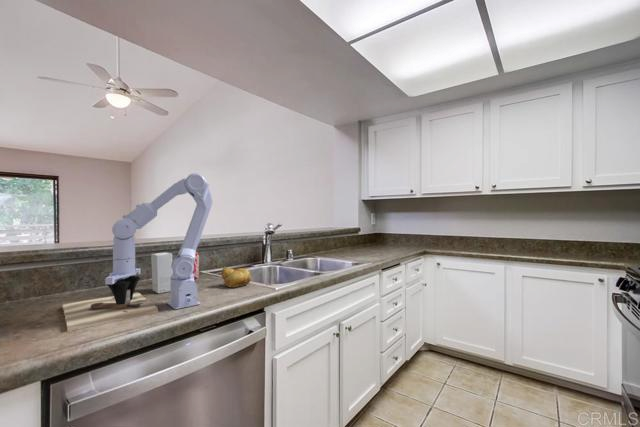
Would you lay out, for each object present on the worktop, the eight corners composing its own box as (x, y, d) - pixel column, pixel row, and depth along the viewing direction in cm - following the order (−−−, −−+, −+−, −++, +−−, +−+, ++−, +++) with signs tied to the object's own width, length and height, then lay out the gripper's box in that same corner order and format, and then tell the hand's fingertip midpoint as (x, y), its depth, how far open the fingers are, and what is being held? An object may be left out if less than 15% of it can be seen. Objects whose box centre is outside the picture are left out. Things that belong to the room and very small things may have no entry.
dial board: (158, 312, 89) (158, 308, 89) (67, 331, 74) (67, 326, 74) (137, 295, 108) (137, 291, 108) (62, 307, 93) (62, 303, 93)
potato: (245, 280, 131) (245, 263, 131) (258, 284, 125) (258, 265, 125) (219, 286, 122) (219, 267, 122) (231, 290, 115) (231, 270, 115)
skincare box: (173, 291, 113) (173, 253, 113) (156, 294, 109) (156, 254, 109) (167, 287, 119) (167, 251, 119) (150, 290, 115) (150, 252, 115)
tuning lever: (88, 309, 87) (88, 292, 87) (95, 305, 90) (95, 289, 90) (136, 308, 88) (136, 291, 88) (142, 304, 91) (142, 289, 91)
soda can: (178, 282, 129) (178, 252, 129) (191, 278, 135) (191, 251, 135) (188, 283, 126) (188, 253, 126) (202, 280, 132) (202, 252, 132)
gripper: (125, 255, 96) (125, 295, 96) (94, 262, 82) (94, 310, 82) (146, 255, 97) (146, 295, 97) (120, 262, 82) (119, 309, 82)
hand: (124, 302), depth 89 cm, fingers closed on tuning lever, 3 cm apart
